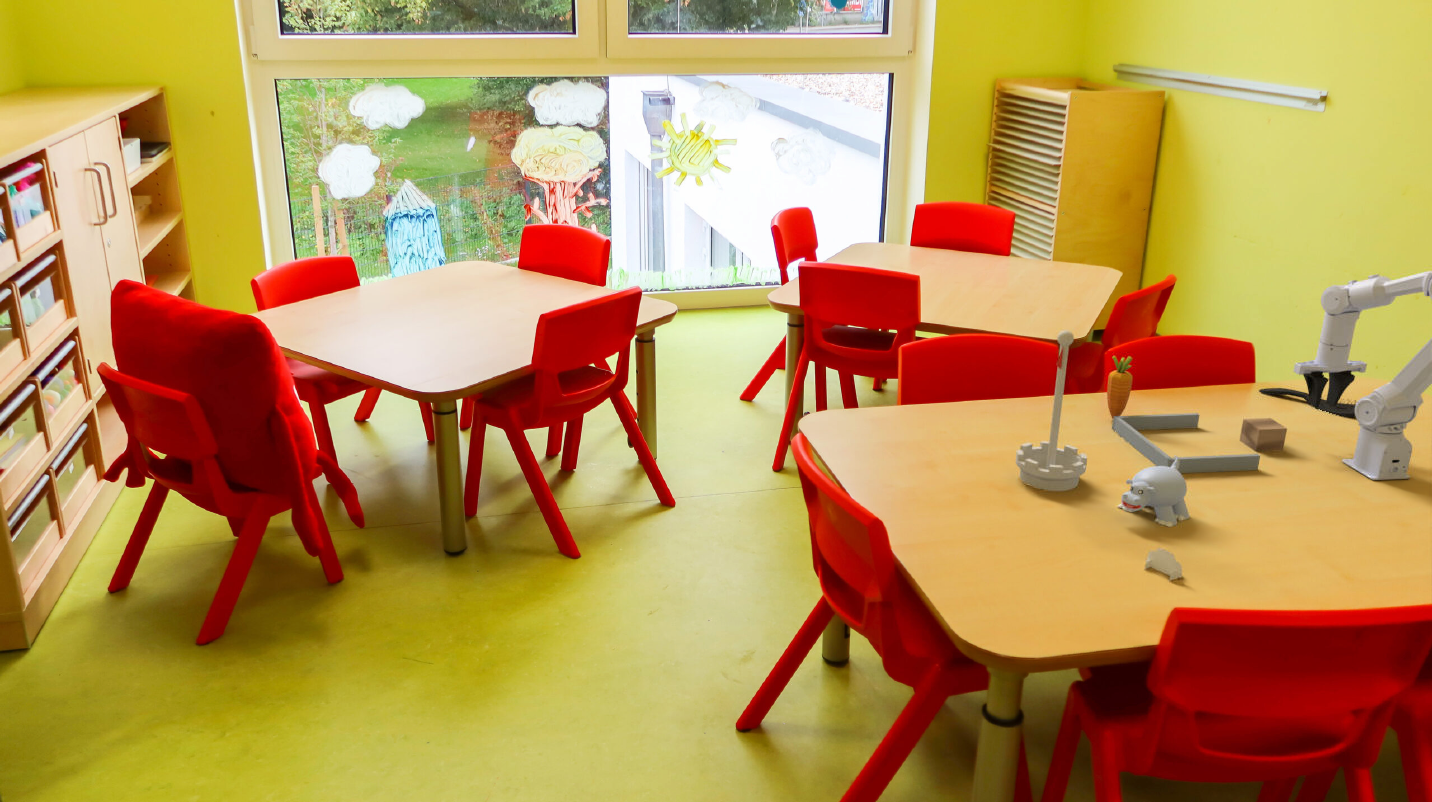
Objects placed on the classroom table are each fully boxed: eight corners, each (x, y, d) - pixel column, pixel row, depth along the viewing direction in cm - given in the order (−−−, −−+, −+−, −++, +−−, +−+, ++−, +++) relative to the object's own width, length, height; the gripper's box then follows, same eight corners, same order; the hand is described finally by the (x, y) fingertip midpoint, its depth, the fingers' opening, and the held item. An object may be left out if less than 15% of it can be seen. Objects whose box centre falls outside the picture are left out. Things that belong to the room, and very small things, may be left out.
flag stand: (1025, 461, 222) (1040, 317, 212) (1091, 474, 216) (1110, 327, 205) (1005, 483, 211) (1020, 333, 201) (1074, 498, 205) (1093, 344, 195)
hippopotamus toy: (1098, 515, 199) (1105, 467, 196) (1145, 493, 207) (1152, 447, 204) (1152, 537, 191) (1160, 487, 188) (1199, 513, 200) (1207, 465, 196)
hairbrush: (1267, 377, 264) (1383, 398, 247) (1265, 392, 265) (1381, 414, 248) (1253, 385, 259) (1371, 407, 241) (1251, 400, 260) (1368, 423, 243)
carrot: (1098, 418, 245) (1106, 354, 239) (1115, 415, 247) (1123, 351, 241) (1114, 425, 240) (1123, 360, 235) (1131, 422, 242) (1140, 357, 237)
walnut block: (1282, 450, 228) (1287, 428, 226) (1255, 452, 227) (1259, 429, 225) (1266, 440, 233) (1270, 418, 232) (1239, 441, 233) (1243, 419, 231)
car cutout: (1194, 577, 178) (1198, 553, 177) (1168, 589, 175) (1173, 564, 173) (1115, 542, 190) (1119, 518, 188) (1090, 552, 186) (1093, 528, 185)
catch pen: (1257, 469, 218) (1260, 455, 217) (1166, 473, 216) (1168, 459, 215) (1195, 425, 240) (1197, 413, 239) (1111, 429, 238) (1113, 416, 237)
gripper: (1355, 336, 228) (1342, 397, 233) (1290, 338, 227) (1278, 400, 231) (1378, 346, 222) (1364, 409, 226) (1311, 348, 220) (1298, 411, 225)
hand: (1322, 405), depth 229 cm, fingers open, 3 cm apart
